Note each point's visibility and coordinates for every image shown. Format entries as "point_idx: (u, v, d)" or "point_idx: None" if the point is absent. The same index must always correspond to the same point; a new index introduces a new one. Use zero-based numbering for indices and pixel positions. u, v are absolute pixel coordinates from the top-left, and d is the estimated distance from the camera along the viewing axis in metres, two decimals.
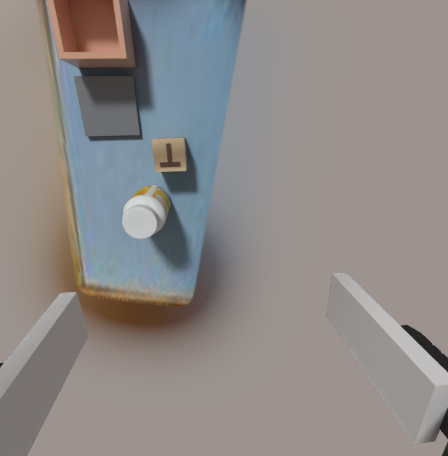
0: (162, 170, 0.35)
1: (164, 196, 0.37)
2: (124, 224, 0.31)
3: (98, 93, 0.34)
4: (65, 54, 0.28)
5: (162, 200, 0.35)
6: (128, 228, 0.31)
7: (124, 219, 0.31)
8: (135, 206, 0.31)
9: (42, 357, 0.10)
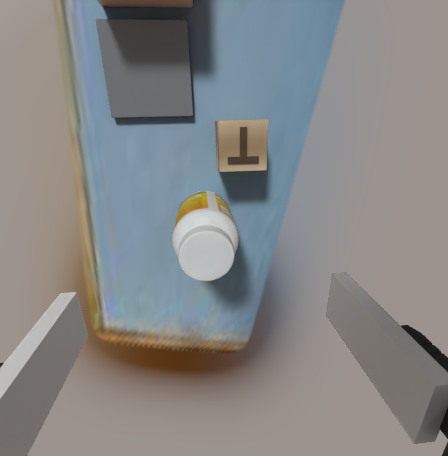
0: (230, 169, 0.22)
1: (228, 208, 0.25)
2: (181, 259, 0.19)
3: (133, 48, 0.22)
4: None
5: (230, 216, 0.23)
6: (188, 265, 0.19)
7: (182, 251, 0.19)
8: (200, 229, 0.19)
9: (42, 357, 0.10)
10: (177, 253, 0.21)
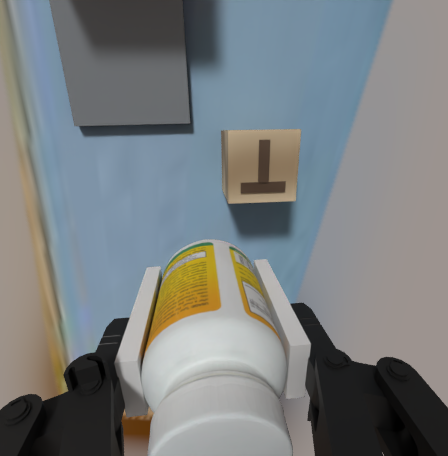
0: (244, 200, 0.16)
1: (256, 281, 0.13)
2: None
3: (103, 27, 0.15)
4: None
5: (266, 309, 0.11)
6: None
7: None
8: (205, 402, 0.07)
9: (153, 314, 0.12)
10: (152, 409, 0.09)
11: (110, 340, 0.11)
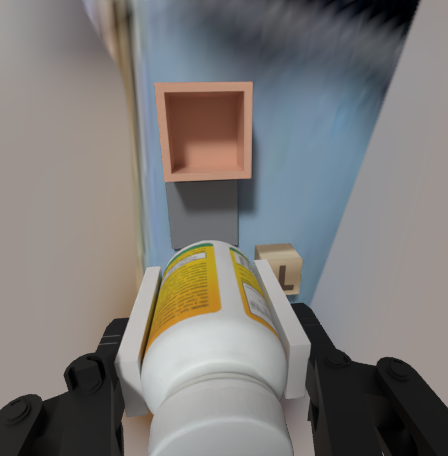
0: None
1: (256, 282, 0.13)
2: None
3: (193, 201, 0.27)
4: (173, 176, 0.21)
5: (266, 311, 0.11)
6: None
7: None
8: (206, 406, 0.07)
9: (152, 314, 0.12)
10: (151, 411, 0.09)
11: (110, 340, 0.11)
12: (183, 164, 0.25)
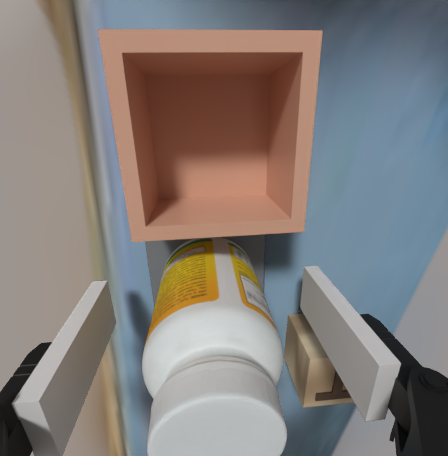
0: (317, 404, 0.17)
1: (254, 276, 0.13)
2: (155, 455, 0.07)
3: None
4: (149, 232, 0.10)
5: (263, 302, 0.11)
6: None
7: (156, 440, 0.07)
8: (203, 384, 0.07)
9: (84, 337, 0.11)
10: (152, 396, 0.10)
11: (26, 370, 0.10)
12: (173, 196, 0.14)
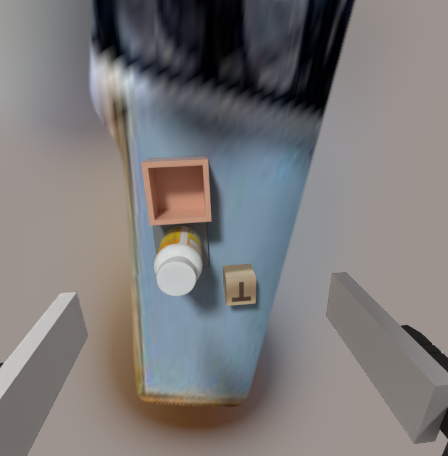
0: (233, 304, 0.36)
1: (197, 240, 0.33)
2: (159, 281, 0.27)
3: None
4: (155, 221, 0.30)
5: (197, 247, 0.31)
6: (163, 285, 0.27)
7: (159, 275, 0.27)
8: (171, 260, 0.27)
9: (42, 357, 0.10)
10: None
11: None
12: (165, 208, 0.34)
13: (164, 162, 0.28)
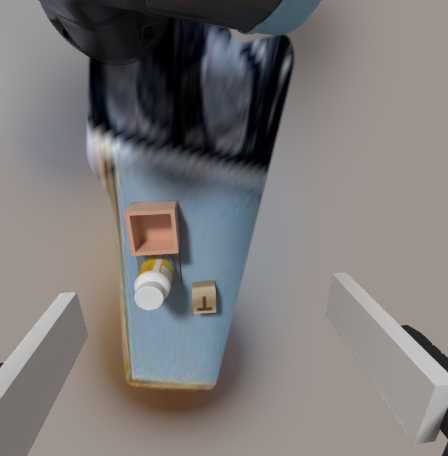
0: (198, 312, 0.47)
1: (169, 265, 0.43)
2: (136, 299, 0.37)
3: None
4: (136, 253, 0.40)
5: (167, 272, 0.41)
6: (139, 302, 0.37)
7: (136, 296, 0.37)
8: (145, 285, 0.37)
9: (42, 357, 0.10)
10: None
11: None
12: (145, 240, 0.44)
13: (141, 211, 0.38)
